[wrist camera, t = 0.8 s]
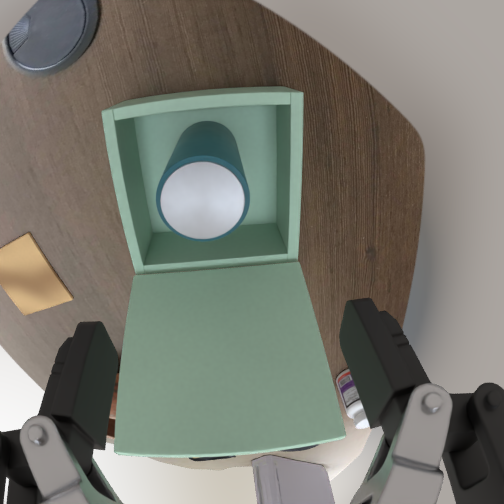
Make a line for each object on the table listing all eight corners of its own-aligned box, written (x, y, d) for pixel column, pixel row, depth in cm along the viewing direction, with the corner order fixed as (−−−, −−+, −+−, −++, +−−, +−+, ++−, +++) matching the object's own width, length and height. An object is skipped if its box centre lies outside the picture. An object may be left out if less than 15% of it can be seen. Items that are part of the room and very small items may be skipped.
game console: (268, 453, 66) (280, 525, 49) (326, 465, 78) (339, 520, 62) (251, 460, 68) (260, 529, 51) (310, 471, 80) (322, 525, 64)
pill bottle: (363, 379, 51) (380, 424, 43) (334, 387, 51) (349, 434, 43) (367, 362, 48) (387, 410, 40) (336, 370, 48) (353, 420, 40)
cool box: (124, 100, 24) (100, 111, 18) (284, 86, 25) (303, 92, 19) (147, 237, 31) (135, 275, 26) (283, 225, 32) (297, 261, 27)
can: (168, 133, 25) (139, 177, 16) (226, 112, 25) (233, 142, 15) (189, 185, 28) (177, 254, 19) (244, 166, 28) (261, 227, 18)
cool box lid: (113, 452, 15) (138, 465, 18) (347, 435, 16) (330, 451, 19) (133, 275, 25) (147, 309, 29) (299, 261, 26) (294, 297, 30)
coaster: (-16, 257, 30) (-17, 259, 29) (29, 231, 29) (28, 233, 29) (25, 313, 35) (24, 315, 35) (73, 297, 34) (72, 299, 34)
